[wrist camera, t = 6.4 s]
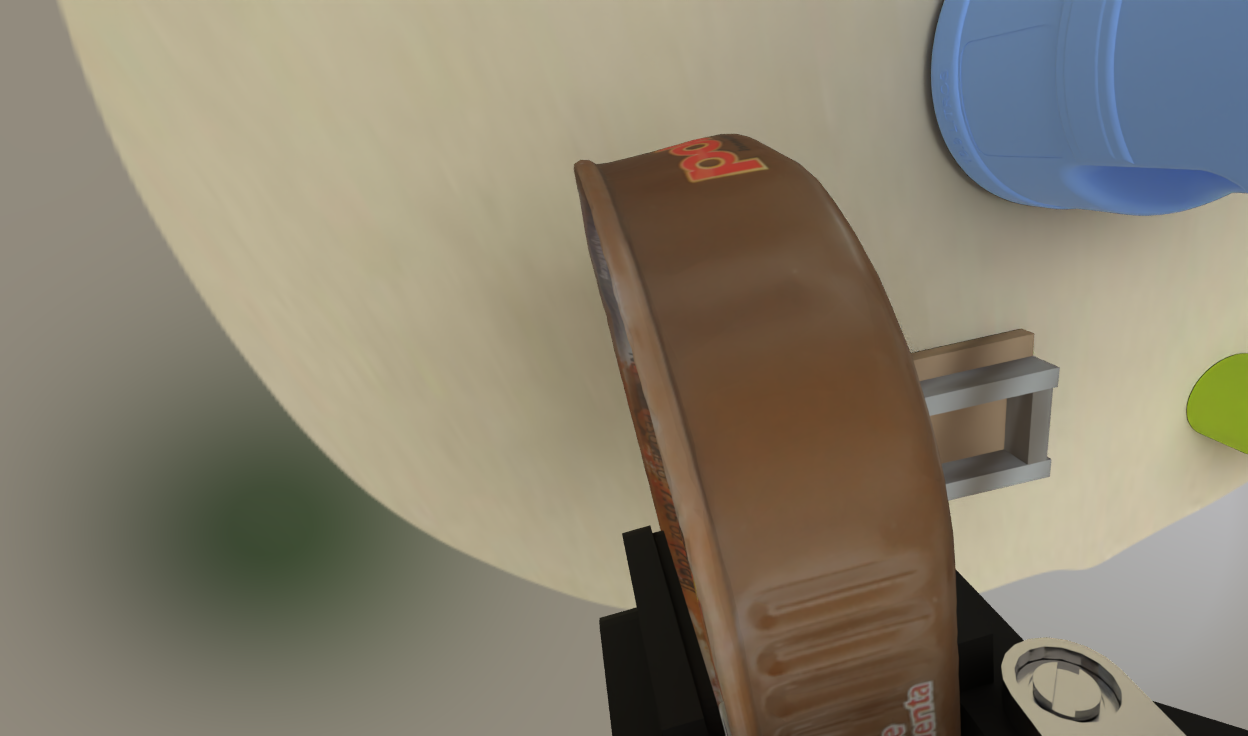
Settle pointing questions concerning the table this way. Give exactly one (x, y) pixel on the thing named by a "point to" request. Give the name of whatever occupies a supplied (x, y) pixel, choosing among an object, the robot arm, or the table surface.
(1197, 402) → the soap dispenser
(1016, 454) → the wooden tray
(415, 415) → the table surface
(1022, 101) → the water jug
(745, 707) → the tin
